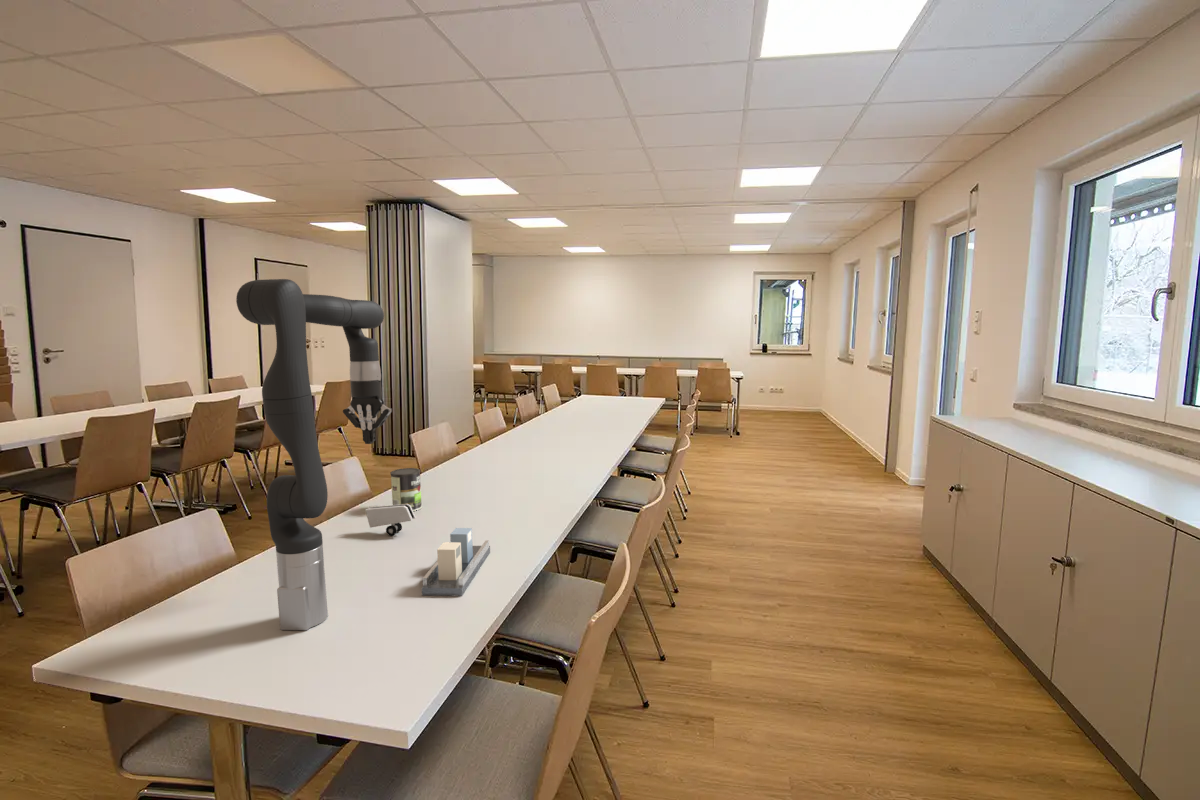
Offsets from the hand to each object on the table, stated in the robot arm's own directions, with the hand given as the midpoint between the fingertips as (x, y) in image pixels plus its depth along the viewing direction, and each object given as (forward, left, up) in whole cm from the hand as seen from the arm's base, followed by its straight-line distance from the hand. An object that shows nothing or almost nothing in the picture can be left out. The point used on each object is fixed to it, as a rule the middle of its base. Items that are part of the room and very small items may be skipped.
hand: (369, 443), depth 154 cm
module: (+3, -23, -33) cm, 40 cm away
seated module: (-8, -23, -33) cm, 41 cm away
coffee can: (+54, +13, -35) cm, 66 cm away
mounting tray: (-1, -23, -35) cm, 42 cm away
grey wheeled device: (+29, +15, -32) cm, 45 cm away
